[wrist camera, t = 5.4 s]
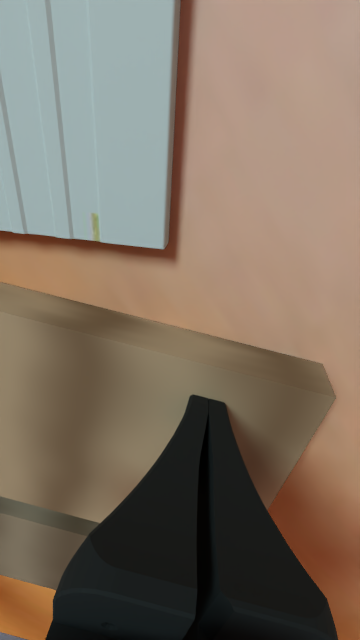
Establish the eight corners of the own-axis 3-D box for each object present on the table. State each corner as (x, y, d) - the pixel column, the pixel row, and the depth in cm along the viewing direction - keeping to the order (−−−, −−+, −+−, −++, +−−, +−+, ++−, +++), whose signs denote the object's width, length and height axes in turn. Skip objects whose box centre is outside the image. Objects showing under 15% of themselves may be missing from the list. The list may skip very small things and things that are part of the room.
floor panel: (-54, 526, 25) (-74, 554, 24) (-82, 439, 20) (-111, 468, 18) (195, 593, 25) (192, 627, 23) (234, 523, 20) (233, 561, 18)
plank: (-86, 436, 20) (-117, 464, 18) (-144, 245, 14) (-199, 260, 12) (236, 522, 19) (237, 559, 17) (322, 364, 13) (336, 397, 12)
